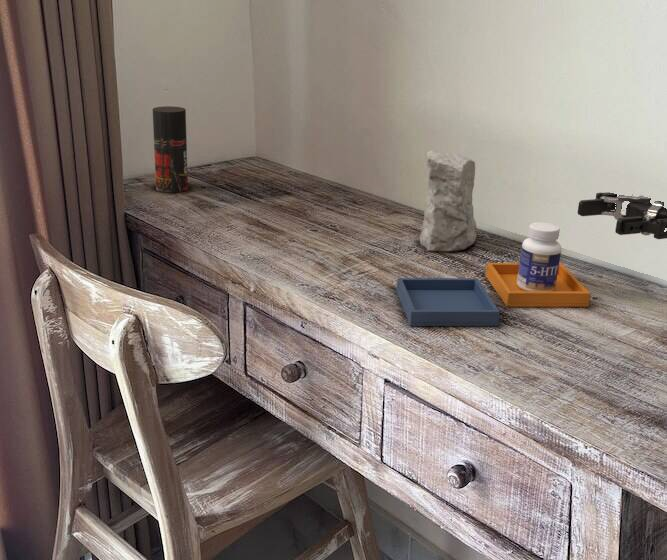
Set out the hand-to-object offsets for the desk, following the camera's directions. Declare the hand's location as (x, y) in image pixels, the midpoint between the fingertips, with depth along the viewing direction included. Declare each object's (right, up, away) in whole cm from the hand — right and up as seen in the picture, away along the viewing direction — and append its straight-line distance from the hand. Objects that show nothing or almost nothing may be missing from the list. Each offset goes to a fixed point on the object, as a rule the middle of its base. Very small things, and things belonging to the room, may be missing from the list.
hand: (598, 217), depth 112 cm
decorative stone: (-18, -3, +19) cm, 26 cm away
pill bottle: (-8, -10, +1) cm, 13 cm away
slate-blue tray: (-22, -12, -6) cm, 26 cm away
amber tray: (-9, -10, +1) cm, 13 cm away
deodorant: (-67, +9, +42) cm, 80 cm away
